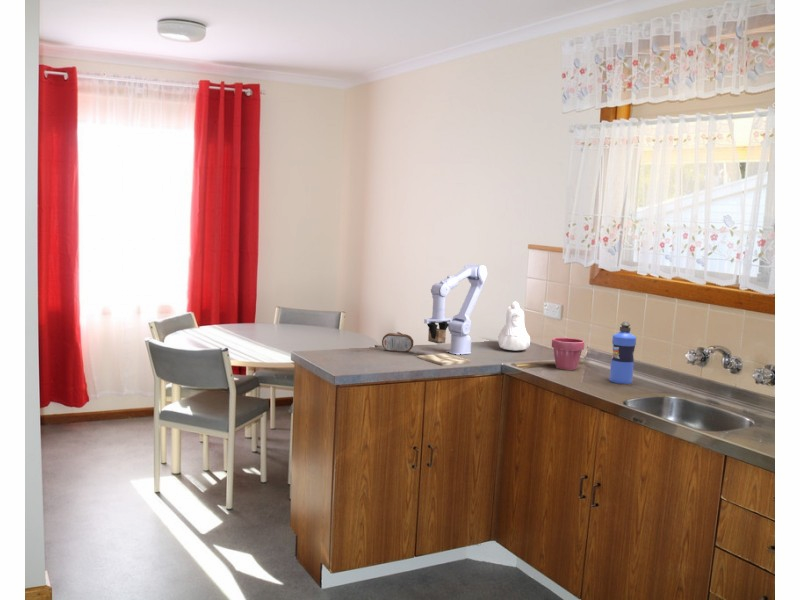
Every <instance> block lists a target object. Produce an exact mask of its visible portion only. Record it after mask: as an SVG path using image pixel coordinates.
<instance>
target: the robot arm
mask: <svg viewBox="0 0 800 600" xmlns="http://www.w3.org/2000/svg"><path fill="white" fill-rule="evenodd" d="M487 276H488V270H487V267H486V265H484V264H483V265H481V264H480V265H479V264H473V263H467V265H464V267H463V269H461V270H460V271H459V272H458V273H456V274H454V275H447V277H446V278H445V279H442V280H440V281H439V282H436V283H433V285H432V287H431V289H430V292H431V295H432V315H431V316H432V317H430V318H424V321H423V323H424V324H426V325H427V328H428V330H429V329H430V333H431V338H432V339H435V337H436V329H437V328H438V329H442V330H446V331H447V330H448V332H449V334H450V349H449V350H446V351H445V352H446V353H448V352H449V353H448V354H451V355H455V354H456V355H455V356H459V355H460V354H461V355H471V354H472V352H471V349H472V339H471V336H470V335H469V333H470V331H471V326H472V320H471V319H470V317H471V315H472V313H473V311H474V307H475V306H476V304H477V301H478V298H479V296H480V294H481V292H482V290H483V287H484V284H485V282H486V279H487ZM466 278H467V280H468V282H469V283H470V287H469V290H468V291H467V294H466V295H465V298H464V301H463V303H462V306H461V308H460V310H459V312H458V313H457V314H455V315H453V317H446V316H445V315H446V313H445V312H446V297H447V296H448V294H449V292H451V290H453V289H455V288H456V287H457V286H459V285H458V284H459V282H461V281H463V280H465V279H466Z"/></svg>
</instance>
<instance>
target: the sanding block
mask: <svg viewBox="0 0 800 600" xmlns="http://www.w3.org/2000/svg"><path fill="white" fill-rule="evenodd" d="M446 335H447V329H446V330H442V329H439V327H437V329H436V337H435V339H432V338H431V333H430V329H429V328H428V339H427V341H428V342H430V343H435V344H437V345H440V344H446Z"/></svg>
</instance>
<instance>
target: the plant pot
mask: <svg viewBox="0 0 800 600" xmlns="http://www.w3.org/2000/svg"><path fill="white" fill-rule="evenodd" d="M551 348H552V349H553V355H554V362H555V367H556V369H561V370H568V371H572V370H577V368H578V366H579V362H580V359H581V356H582V355H581V354H582V351H584V349H585V341H584V340H583V339H579V338H573V337H553V338H552V339H551Z"/></svg>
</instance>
